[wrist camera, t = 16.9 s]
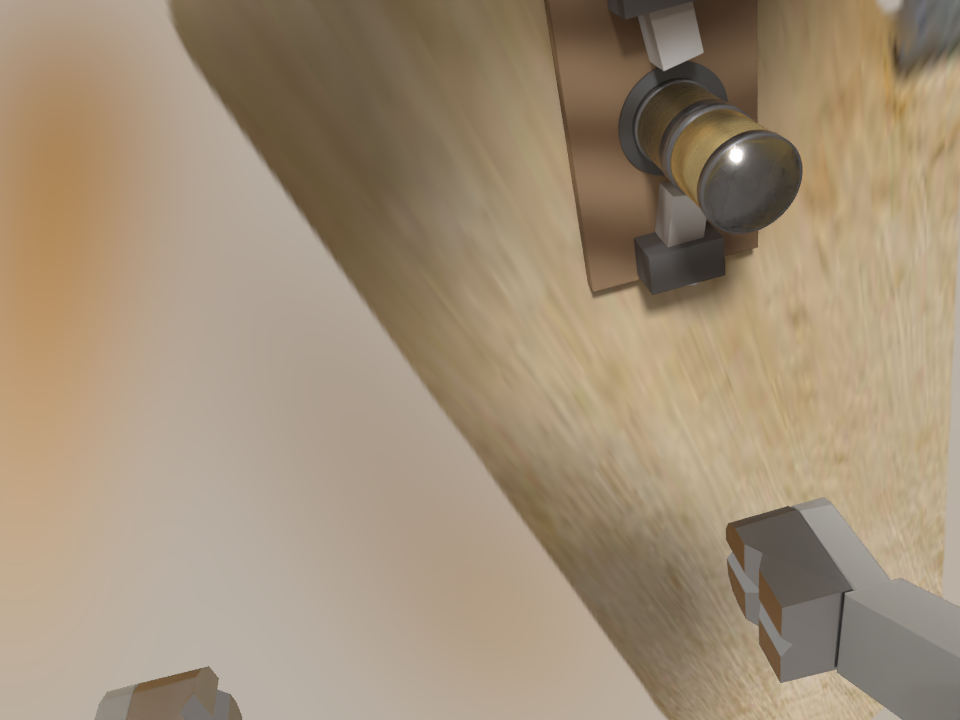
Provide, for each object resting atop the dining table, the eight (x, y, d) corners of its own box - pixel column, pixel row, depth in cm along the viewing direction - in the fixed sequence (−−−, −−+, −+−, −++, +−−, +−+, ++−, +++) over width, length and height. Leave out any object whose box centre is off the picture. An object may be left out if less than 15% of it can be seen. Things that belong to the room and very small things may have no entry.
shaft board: (537, -45, 39) (556, -35, 35) (745, -101, 39) (783, -97, 35) (588, 284, 50) (605, 315, 47) (749, 240, 50) (778, 268, 47)
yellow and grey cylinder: (628, 90, 42) (699, 149, 34) (712, 67, 42) (804, 121, 34) (636, 171, 44) (704, 245, 36) (715, 150, 45) (800, 219, 36)
